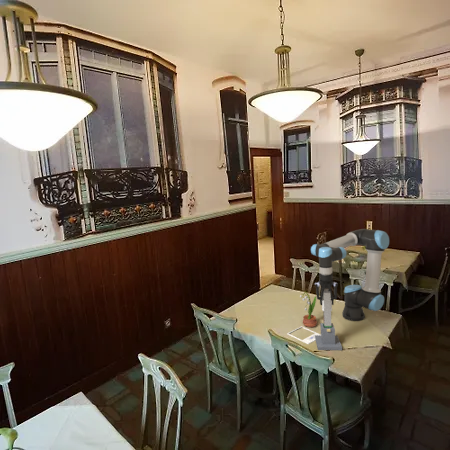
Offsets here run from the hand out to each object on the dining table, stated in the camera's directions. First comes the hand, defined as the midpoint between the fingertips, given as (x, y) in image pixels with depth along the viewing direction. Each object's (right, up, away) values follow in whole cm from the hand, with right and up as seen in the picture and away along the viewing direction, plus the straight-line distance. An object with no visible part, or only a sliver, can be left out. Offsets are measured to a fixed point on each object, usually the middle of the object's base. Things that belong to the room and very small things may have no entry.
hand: (326, 309), depth 196 cm
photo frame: (-9, -22, +16) cm, 29 cm away
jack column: (+1, -12, +2) cm, 12 cm away
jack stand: (+2, -22, +4) cm, 23 cm away
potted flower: (-3, -19, +29) cm, 35 cm away
